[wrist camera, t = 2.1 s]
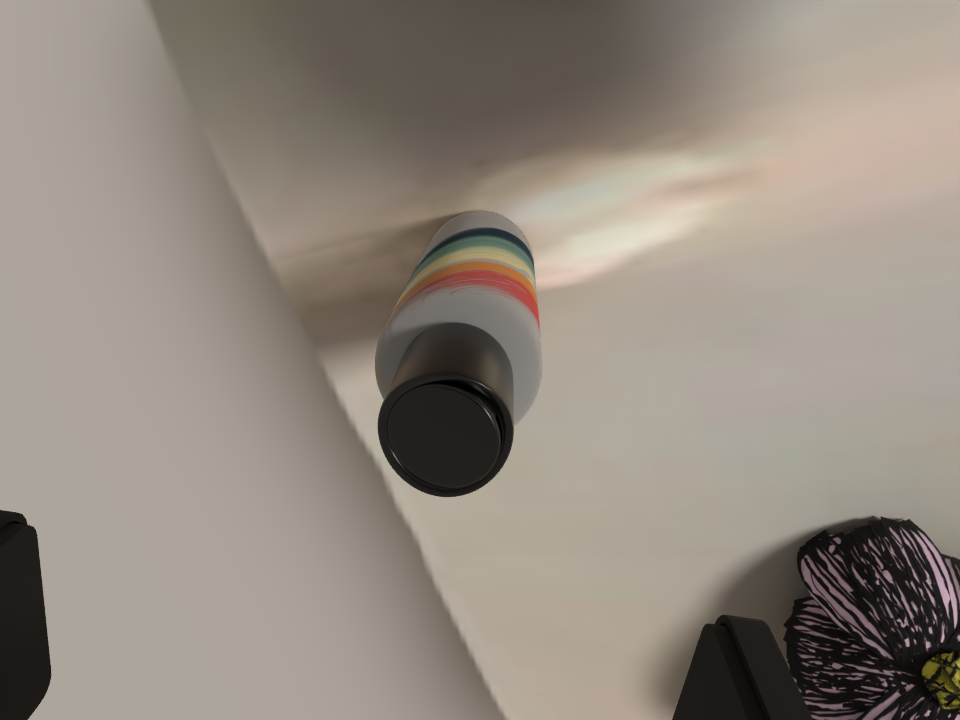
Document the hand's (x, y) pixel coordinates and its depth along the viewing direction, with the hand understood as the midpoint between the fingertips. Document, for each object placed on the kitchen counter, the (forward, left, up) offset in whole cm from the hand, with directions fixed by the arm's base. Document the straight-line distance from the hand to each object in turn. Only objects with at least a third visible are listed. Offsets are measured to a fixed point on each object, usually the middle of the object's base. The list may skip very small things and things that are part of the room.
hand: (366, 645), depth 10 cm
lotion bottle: (0, +2, -29) cm, 29 cm away
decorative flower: (-27, +21, -29) cm, 45 cm away
